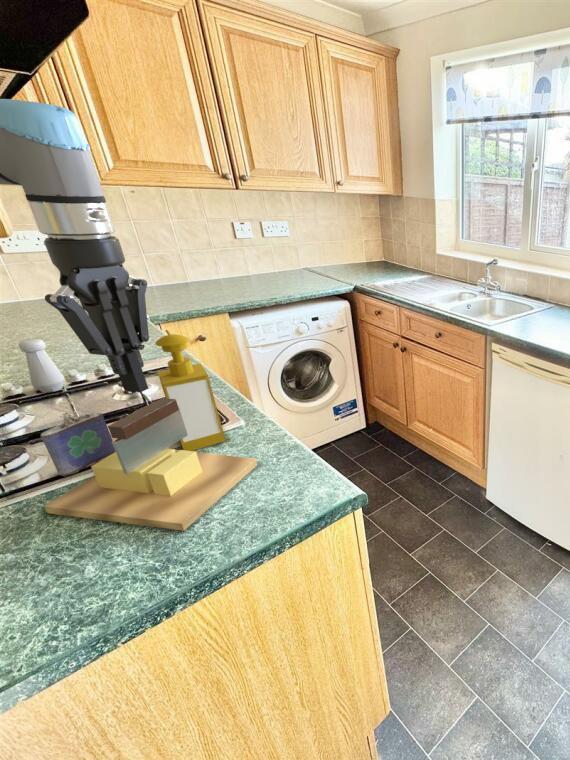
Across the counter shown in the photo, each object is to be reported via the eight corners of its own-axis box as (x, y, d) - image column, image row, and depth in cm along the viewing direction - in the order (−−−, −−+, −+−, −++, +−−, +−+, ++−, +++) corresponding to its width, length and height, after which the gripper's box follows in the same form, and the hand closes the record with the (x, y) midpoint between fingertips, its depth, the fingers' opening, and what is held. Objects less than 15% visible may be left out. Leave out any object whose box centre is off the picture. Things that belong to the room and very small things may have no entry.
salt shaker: (69, 382, 110) (49, 335, 104) (67, 390, 106) (46, 342, 100) (37, 387, 106) (14, 339, 101) (33, 396, 102) (10, 346, 97)
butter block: (100, 487, 73) (90, 466, 71) (137, 463, 79) (129, 443, 77) (148, 493, 72) (139, 472, 70) (181, 469, 78) (174, 449, 76)
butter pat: (154, 494, 72) (146, 472, 70) (187, 469, 78) (180, 449, 76) (170, 496, 72) (163, 474, 70) (202, 471, 78) (196, 451, 76)
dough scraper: (118, 473, 67) (100, 429, 64) (180, 434, 78) (167, 395, 75) (133, 474, 67) (115, 431, 64) (192, 435, 78) (180, 396, 74)
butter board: (47, 513, 69) (43, 506, 68) (145, 452, 85) (143, 445, 84) (184, 531, 67) (181, 523, 66) (257, 465, 83) (256, 458, 83)
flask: (65, 478, 76) (41, 427, 72) (54, 474, 77) (29, 424, 73) (120, 451, 85) (101, 404, 80) (110, 448, 85) (90, 402, 81)
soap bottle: (212, 417, 98) (185, 320, 88) (225, 441, 90) (197, 336, 80) (174, 427, 94) (141, 326, 84) (184, 452, 85) (149, 343, 75)
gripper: (53, 242, 51) (119, 410, 61) (148, 233, 63) (190, 375, 73) (-2, 238, 52) (72, 406, 62) (102, 230, 64) (151, 372, 74)
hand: (136, 389), depth 67 cm, fingers closed
